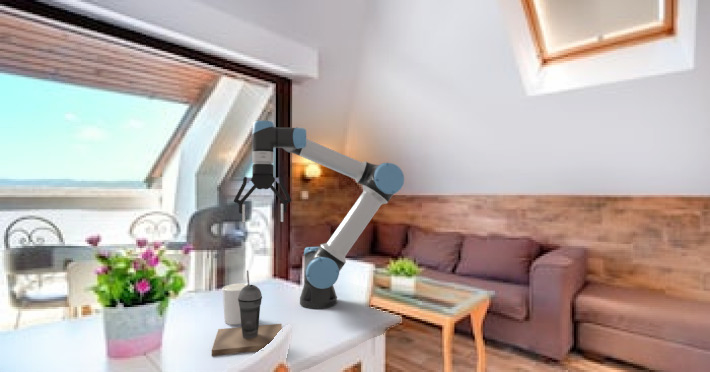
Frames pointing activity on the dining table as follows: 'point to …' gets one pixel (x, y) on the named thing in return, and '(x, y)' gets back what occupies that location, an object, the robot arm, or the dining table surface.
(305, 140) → the robot arm
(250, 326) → the beverage cup
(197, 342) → the dining table surface
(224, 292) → the candle holder
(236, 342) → the walnut board
